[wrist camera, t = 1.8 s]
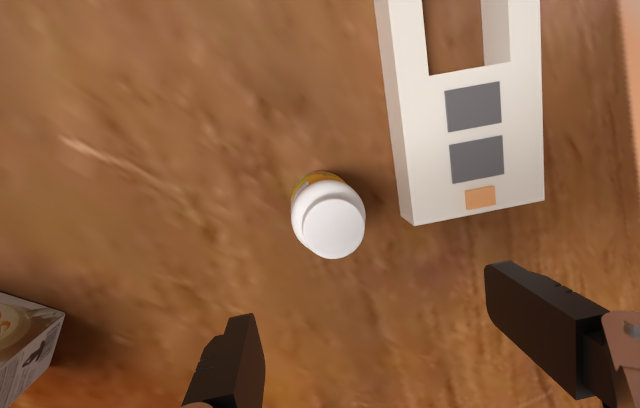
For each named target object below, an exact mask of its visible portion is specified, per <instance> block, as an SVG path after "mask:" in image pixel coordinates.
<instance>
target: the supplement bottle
mask: <svg viewBox="0 0 640 408" xmlns="http://www.w3.org/2000/svg"><path fill="white" fill-rule="evenodd" d="M365 219H366V215H365V208H364V205H363V202H362V200H361V198H360V197H359V195H358V194H357V193H356V192H355V191H354V190H353V189H352V188H351V187H350V186H349V185H348V184H346V183H345V182H344V181H343V180H342V179H341V178H340V177H338V176H337V175H335V174H333V173H330V172H326V171H316V172H312V173H309V174H307V175H306V176H304V177H303V178H302V179H300V180H299V182H298V183H297V184H296V186H295V187H294V189H293V192H292V197H291V222H292V226H293V230H294V232H295V234H296V236H297V238H298V239H299V240H300V242H301V243H302V244H303V245H305V246H306V247H307V248H309V249H311V250H312V251H313V252H314V253H315V254H317V255H319V256H321V257H324V258H328V259H338V258H342V257H345V256H347V255H349V254H350V253H352V252H353V251H354V250H355V249H356V248H357V247H358V246H359V244H360V243H361V241H362V239H363V236H364V230H365Z"/></svg>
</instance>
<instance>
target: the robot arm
mask: <svg viewBox="0 0 640 408" xmlns="http://www.w3.org/2000/svg"><path fill="white" fill-rule="evenodd" d="M484 279H485V293H486V306H487V311H488V314H489V317H490V319H491V320H492V322H493V323H494V325H495V326H496V327H498V328H499V329H500V330H501V331H502V332H503V333H504V334H505V335H506V336H507V337H508V338H509V339H510V340H512V341H513V342H514V343H515V344H516V345H517V346H518V347H519V348H520V349H521V350H522V351H523V352H524V353H526V354H527V355H528V356H529V357H530V358H531V359H532V360H533V361H534V362H535V363H536V364H537V365H538V366H540V367H541V368H542V369H543V370H544V371H545V372H546V373H547V374H548V375H549V376H550V377H551V378H552V379H554V380H555V381H556V382H557V383H558V384H559V385H560V386H561V387H562V388H563V389H564V390H565V391H566V392H568V393H569V394H570V395H571V396H572V397H573V398H574V399H575V400H580V399H584V398H588V397H593V396H597V397H598V398H599V399H600V408H640V312H636V311H627V310H619V311H612V312H611V311H609V310H607V309H605V308H603V307H601V306H600V305H598V304H596V303H594V302H592V301H591V300H589V299H587V298H585V297H583V296H582V295H580V294H578V293H576V292H572V290H571V289H569V288H567V287H565V286H561V284H560V283H558V282H556V281H554V280H552V279H551V278H549V277H547V276H544V275H540V274H537V273H534V272H530V271H527V270H526V269H524V268H522V267H520V266H519V265H517V264H515V263H513V262H512V261H504V262H499V263H494V264H489V265H486V266H485V269H484ZM264 382H265V360H264V354H263V350H262V345H261V341H260V337H259V333H258V329H257V325H256V321H255V317H254V315H253V313H249V314H244V315H240V316H235V317H230V318H229V320H228V323H227V326H226V329H225V332H224V335H219V336H215V337H214V338H213V339H212V340H211V341H210V342H209V343H208V345H207V346H206V347H205V348H204V350H203V353H202V355H201V358H200V362H199V363H198V365H197V368H196V372H195V373H194V375H193V378H192V380H191V383H190V385H189V388H188V390H187V393H186V395H185V398H184V400H183V403H182V405H181V407H180V408H262V402H263V392H264Z"/></svg>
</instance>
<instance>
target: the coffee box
mask: <svg viewBox="0 0 640 408" xmlns="http://www.w3.org/2000/svg"><path fill="white" fill-rule="evenodd" d="M64 317H65V313H64V312H62V311H59V310H56V309H52V308H49V307H46V306H43V305H39V304H36V303H33V302H30V301H27V300H23V299H20V298H17V297H14V296H11V295H7V294H4V293H1V292H0V408H8V407H9V406H10V405H11V404H12V403H13V402H14V401H15V400H16V399H17V398H18V397H19V396H20V395H21V394H22V393H23V392H24V391H25V390H26V389H27V388H28V387H29V386H30V385H31V384H32V383H33V382H34V381H35V380H36V379H37V378H38V377H39V376H40V375H41V374H42V373H43V372H44V371H45V370H46V369H47V368H48V367H49V365H50V362H51V359H52V356H53V353H54V349H55V346H56V343H57V340H58V337H59V334H60V330H61V327H62V324H63V321H64Z"/></svg>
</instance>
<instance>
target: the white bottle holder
mask: <svg viewBox="0 0 640 408" xmlns="http://www.w3.org/2000/svg"><path fill="white" fill-rule="evenodd" d="M374 7H375V15H376V23H377V31H378V39H379V47H380V55H381V63H382V71H383V79H384V87H385V95H386V103H387V111H388V119H389V127H390V135H391V143H392V151H393V159H394V167H395V175H396V183H397V191H398V199H399V207H400V215H401V217H403V218H404V219H405V220H407V221H408V222H409V223H411V224H412V225H413V226H417V225H422V224H428V223H433V222H438V221H443V220H448V219H453V218H458V217H463V216H468V215H473V214H478V213H483V212H488V211H493V210H498V209H503V208H508V207H513V206H518V205H523V204H529V203H534V202H539V201H544V200H545V197H544V157H543V116H542V75H541V34H540V0H481V15H482V31H483V48H484V65H485V66H483V67H477V68H472V69H466V70H460V71H455V72H449V73H443V74H437V75H432V76H429V72H428V62H427V51H426V41H425V30H424V20H423V10H422V0H374Z"/></svg>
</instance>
